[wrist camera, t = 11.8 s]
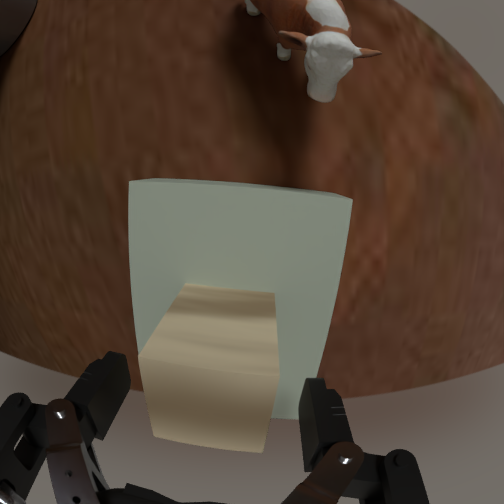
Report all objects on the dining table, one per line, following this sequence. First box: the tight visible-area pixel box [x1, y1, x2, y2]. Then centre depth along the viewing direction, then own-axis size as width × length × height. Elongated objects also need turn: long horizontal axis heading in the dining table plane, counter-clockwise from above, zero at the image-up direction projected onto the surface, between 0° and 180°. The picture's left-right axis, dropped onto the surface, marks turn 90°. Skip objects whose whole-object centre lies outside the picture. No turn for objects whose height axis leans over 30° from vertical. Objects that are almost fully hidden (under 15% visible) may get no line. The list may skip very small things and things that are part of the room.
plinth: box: [129, 178, 353, 419], centre depth 18 cm, size 16×12×4 cm
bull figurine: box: [245, 0, 382, 102], centre depth 11 cm, size 4×13×8 cm, turn 19°
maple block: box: [138, 283, 280, 453], centre depth 13 cm, size 5×5×7 cm
